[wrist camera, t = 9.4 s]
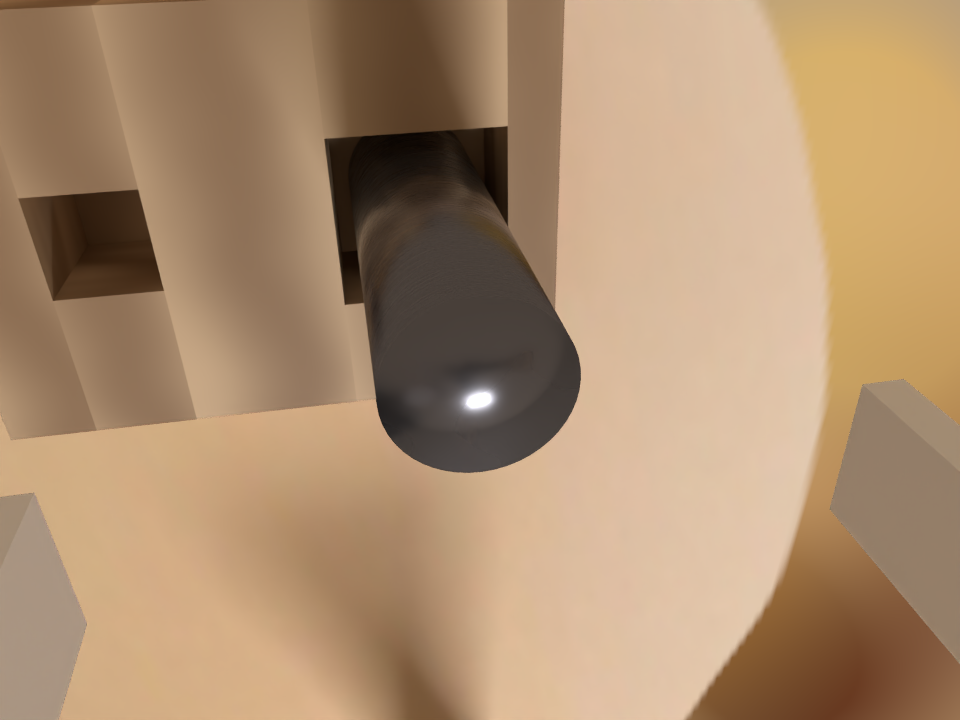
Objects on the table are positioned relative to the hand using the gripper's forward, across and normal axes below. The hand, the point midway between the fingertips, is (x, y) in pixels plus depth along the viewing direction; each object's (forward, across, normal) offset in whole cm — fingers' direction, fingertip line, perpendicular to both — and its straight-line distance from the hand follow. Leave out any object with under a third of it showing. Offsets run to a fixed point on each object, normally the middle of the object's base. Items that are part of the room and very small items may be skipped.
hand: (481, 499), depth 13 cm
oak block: (+17, -4, 0) cm, 17 cm away
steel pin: (+16, +1, 0) cm, 16 cm away
